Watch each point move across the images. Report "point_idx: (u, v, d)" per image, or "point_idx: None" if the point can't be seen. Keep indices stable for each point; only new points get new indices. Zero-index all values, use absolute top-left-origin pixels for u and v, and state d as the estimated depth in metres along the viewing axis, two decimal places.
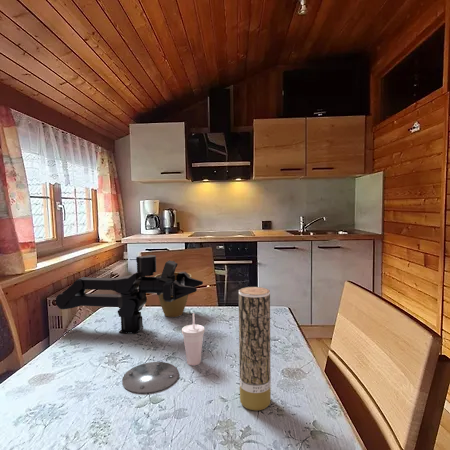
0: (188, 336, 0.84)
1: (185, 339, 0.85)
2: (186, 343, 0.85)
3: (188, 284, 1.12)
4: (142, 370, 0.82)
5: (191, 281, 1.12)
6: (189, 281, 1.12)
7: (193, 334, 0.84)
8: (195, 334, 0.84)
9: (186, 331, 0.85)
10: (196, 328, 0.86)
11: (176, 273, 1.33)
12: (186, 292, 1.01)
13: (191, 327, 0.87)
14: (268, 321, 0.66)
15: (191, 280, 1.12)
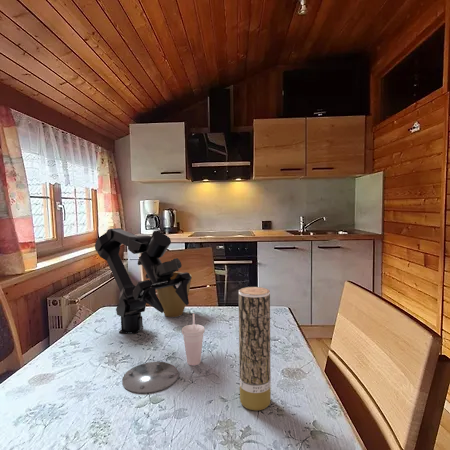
0: (188, 336, 0.84)
1: (185, 339, 0.85)
2: (186, 343, 0.85)
3: (179, 291, 0.98)
4: (142, 370, 0.82)
5: (182, 292, 0.97)
6: (182, 290, 0.97)
7: (193, 334, 0.84)
8: (195, 334, 0.84)
9: (186, 331, 0.85)
10: (196, 328, 0.86)
11: (176, 273, 1.33)
12: (154, 304, 0.90)
13: (191, 327, 0.87)
14: (268, 321, 0.66)
15: (183, 291, 0.97)
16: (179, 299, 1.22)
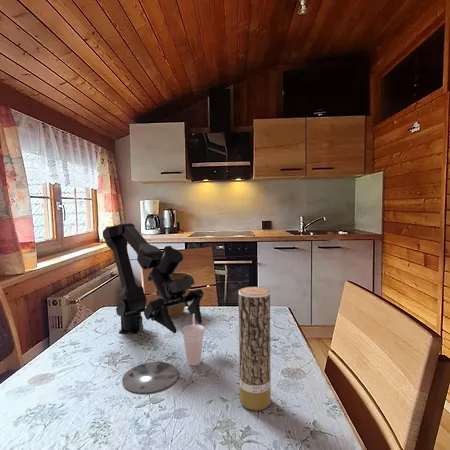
0: (188, 336, 0.84)
1: (185, 339, 0.85)
2: (186, 343, 0.85)
3: (192, 309, 0.94)
4: (142, 370, 0.82)
5: (195, 310, 0.93)
6: (194, 308, 0.93)
7: (193, 334, 0.84)
8: (195, 334, 0.84)
9: (186, 331, 0.85)
10: (196, 328, 0.86)
11: (176, 273, 1.33)
12: (166, 324, 0.86)
13: (191, 327, 0.87)
14: (268, 321, 0.66)
15: (195, 309, 0.93)
16: None
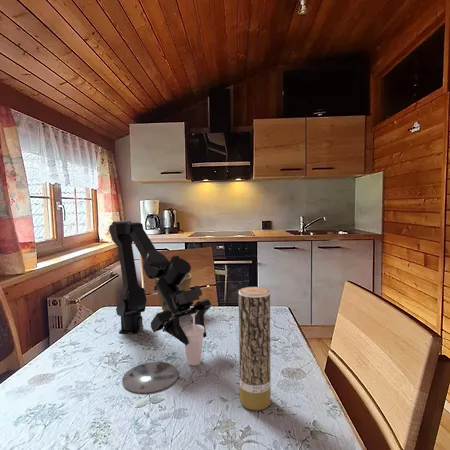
0: (188, 336, 0.84)
1: None
2: None
3: (195, 321, 0.91)
4: (142, 370, 0.82)
5: (199, 323, 0.90)
6: (198, 321, 0.90)
7: (193, 334, 0.84)
8: (195, 334, 0.84)
9: (186, 331, 0.85)
10: (196, 328, 0.86)
11: None
12: (177, 335, 0.85)
13: (191, 327, 0.87)
14: (268, 321, 0.66)
15: (199, 322, 0.90)
16: None
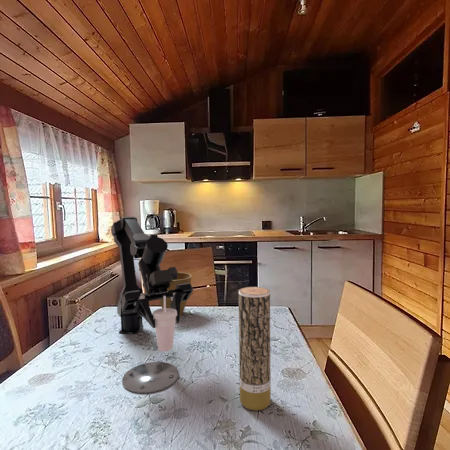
0: (156, 319, 0.78)
1: None
2: None
3: (173, 305, 0.85)
4: (142, 370, 0.82)
5: (174, 307, 0.84)
6: (174, 305, 0.84)
7: (160, 317, 0.78)
8: (163, 318, 0.78)
9: (155, 314, 0.79)
10: (167, 312, 0.80)
11: None
12: (146, 317, 0.80)
13: (163, 310, 0.81)
14: (268, 321, 0.66)
15: (175, 306, 0.83)
16: None
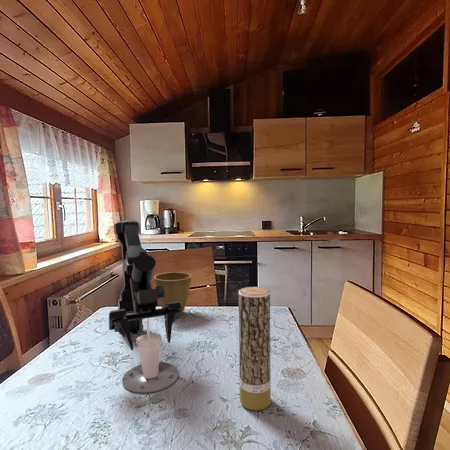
0: (139, 345, 0.77)
1: (138, 348, 0.78)
2: (139, 353, 0.78)
3: (166, 324, 0.84)
4: None
5: (167, 326, 0.82)
6: (167, 324, 0.82)
7: (143, 344, 0.76)
8: (145, 344, 0.76)
9: (139, 340, 0.78)
10: (151, 337, 0.79)
11: (176, 273, 1.33)
12: (126, 338, 0.78)
13: None
14: (268, 321, 0.66)
15: (167, 325, 0.82)
16: (179, 299, 1.22)
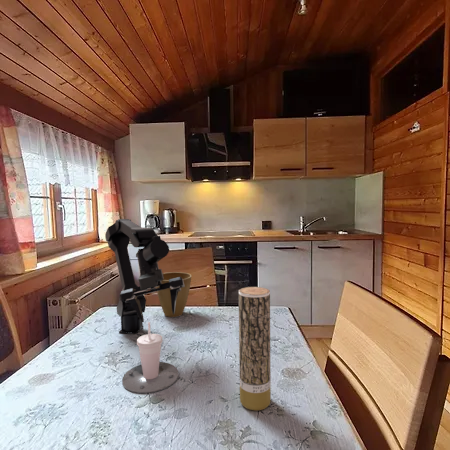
0: (140, 346, 0.77)
1: (139, 349, 0.78)
2: (140, 353, 0.78)
3: None
4: None
5: (171, 299, 0.93)
6: (171, 297, 0.93)
7: (144, 345, 0.76)
8: (146, 345, 0.76)
9: (139, 340, 0.78)
10: (152, 339, 0.78)
11: (176, 273, 1.34)
12: None
13: None
14: (268, 321, 0.66)
15: (171, 299, 0.93)
16: (179, 299, 1.22)
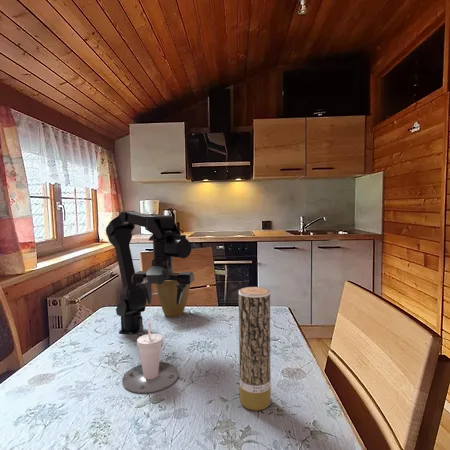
0: (140, 346, 0.77)
1: (139, 349, 0.78)
2: (140, 353, 0.78)
3: None
4: None
5: None
6: None
7: (144, 345, 0.76)
8: (146, 345, 0.76)
9: (140, 340, 0.78)
10: (152, 339, 0.78)
11: (176, 273, 1.33)
12: None
13: None
14: (268, 321, 0.66)
15: None
16: None
